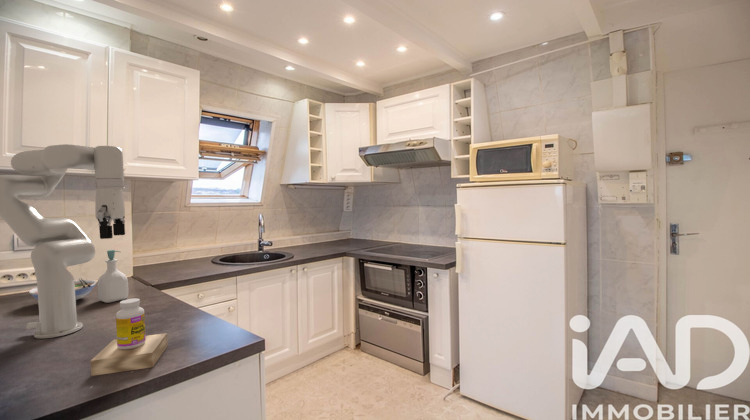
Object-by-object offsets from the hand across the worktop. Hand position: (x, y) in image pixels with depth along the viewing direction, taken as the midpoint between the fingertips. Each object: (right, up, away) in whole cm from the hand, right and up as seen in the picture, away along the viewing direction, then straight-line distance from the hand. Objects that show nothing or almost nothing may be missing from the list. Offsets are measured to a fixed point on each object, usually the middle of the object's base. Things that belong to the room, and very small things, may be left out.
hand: (113, 236), depth 114 cm
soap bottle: (-33, -32, +44) cm, 63 cm away
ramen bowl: (-53, -33, +42) cm, 75 cm away
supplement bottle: (+17, -30, -15) cm, 38 cm away
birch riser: (+17, -34, -15) cm, 41 cm away
